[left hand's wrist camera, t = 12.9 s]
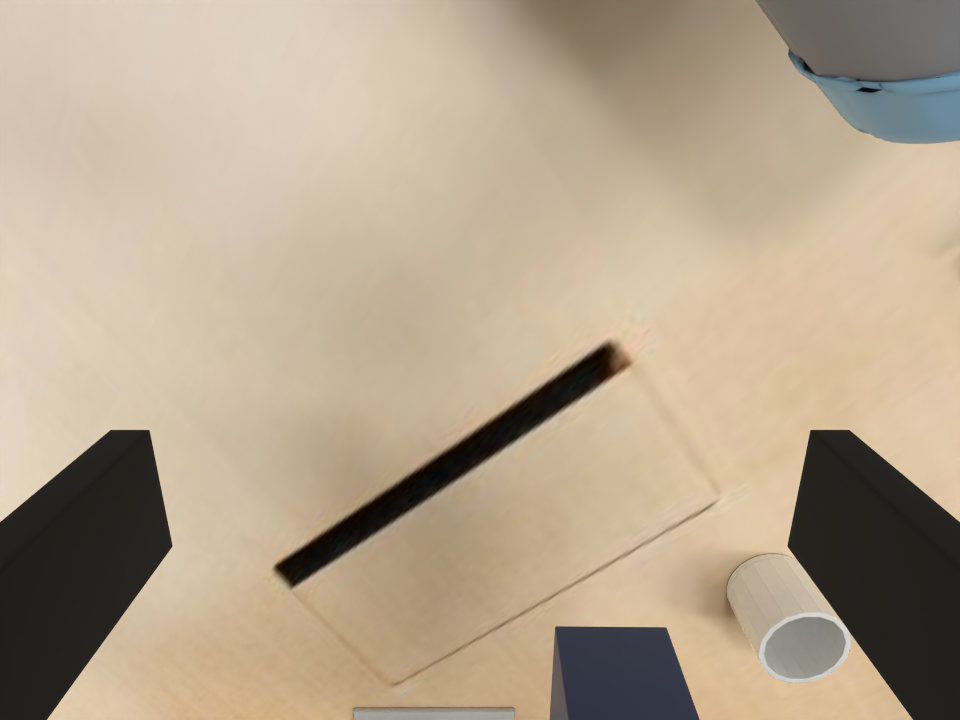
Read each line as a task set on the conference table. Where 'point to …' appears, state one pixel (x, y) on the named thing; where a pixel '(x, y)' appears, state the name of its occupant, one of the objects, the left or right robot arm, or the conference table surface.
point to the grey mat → (433, 713)
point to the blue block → (618, 675)
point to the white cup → (787, 619)
